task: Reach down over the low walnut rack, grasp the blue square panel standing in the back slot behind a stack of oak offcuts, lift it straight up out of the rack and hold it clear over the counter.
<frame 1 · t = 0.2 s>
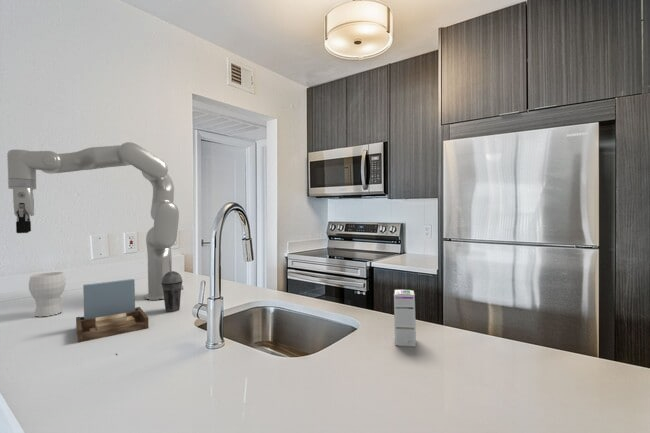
hand: (23, 232, 121), 31 cm above the worktop, fingers open, 9 cm apart
beverage cup: (172, 313, 126), on the worktop
rack: (112, 331, 107), on the worktop
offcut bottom: (113, 330, 105), point 1 cm above the worktop, touching offcut middle, rack
cup: (48, 314, 126), on the worktop
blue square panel: (110, 324, 110), point 1 cm above the worktop, touching rack
offcut top: (111, 321, 104), point 4 cm above the worktop, touching offcut middle
syrup box: (404, 343, 95), on the worktop
offcut middle: (115, 325, 105), point 2 cm above the worktop, touching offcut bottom, offcut top
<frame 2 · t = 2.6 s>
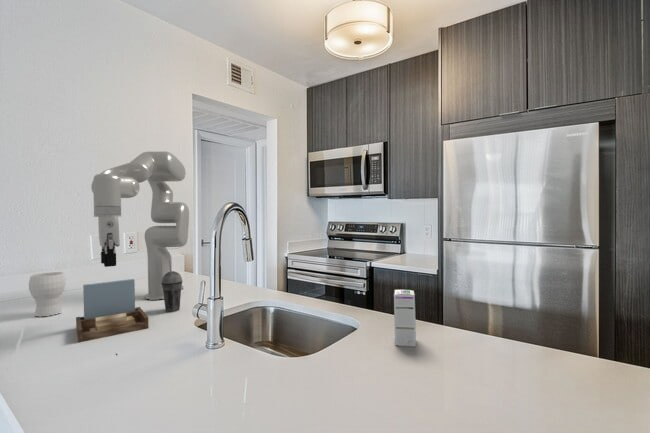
hand: (108, 264, 110), 21 cm above the worktop, fingers open, 9 cm apart
nothing on the worktop moved.
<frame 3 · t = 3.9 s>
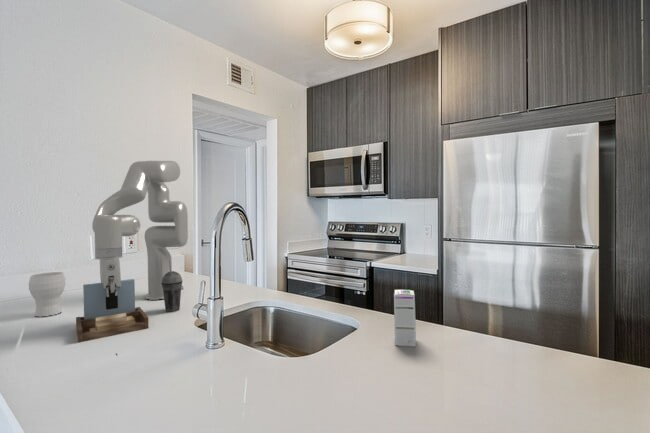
hand: (110, 305, 110), 7 cm above the worktop, fingers open, 9 cm apart
nothing on the worktop moved.
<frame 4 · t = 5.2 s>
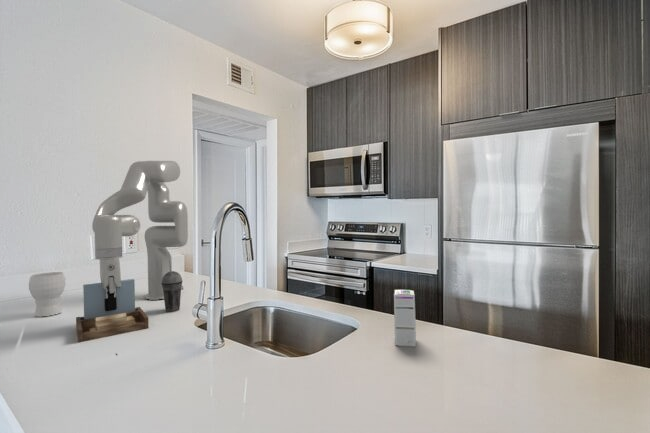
hand: (110, 308, 110), 6 cm above the worktop, fingers closed on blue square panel, 2 cm apart
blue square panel: (110, 324, 110), point 1 cm above the worktop, touching gripper, rack
everything else where it was.
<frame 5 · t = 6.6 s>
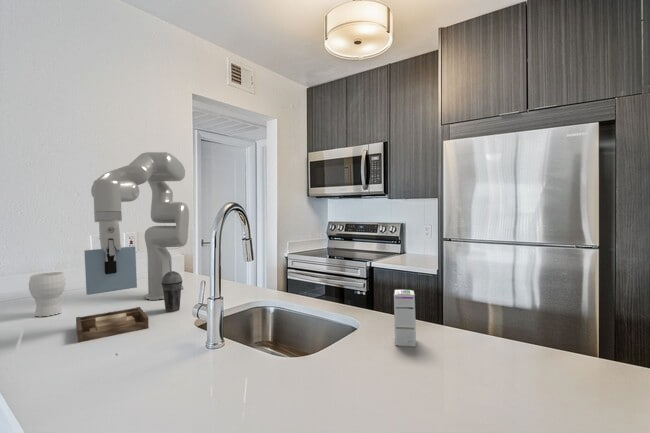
hand: (110, 272, 111), 18 cm above the worktop, fingers closed on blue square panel
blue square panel: (112, 290, 111), point 12 cm above the worktop, touching gripper
everything else where it was.
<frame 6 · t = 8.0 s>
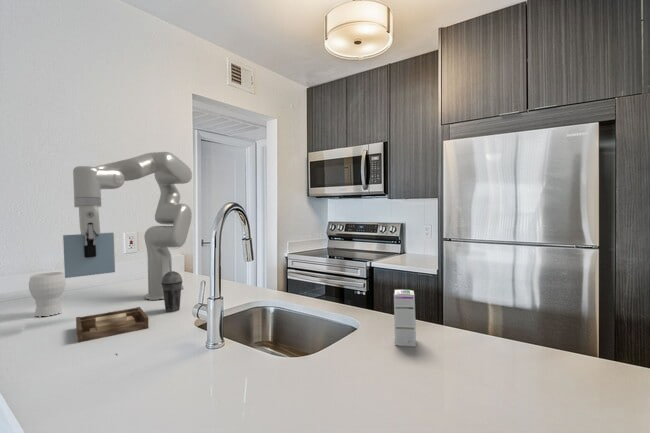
hand: (89, 256, 115), 23 cm above the worktop, fingers closed on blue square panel
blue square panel: (90, 274, 115), point 17 cm above the worktop, touching gripper
everything else where it was.
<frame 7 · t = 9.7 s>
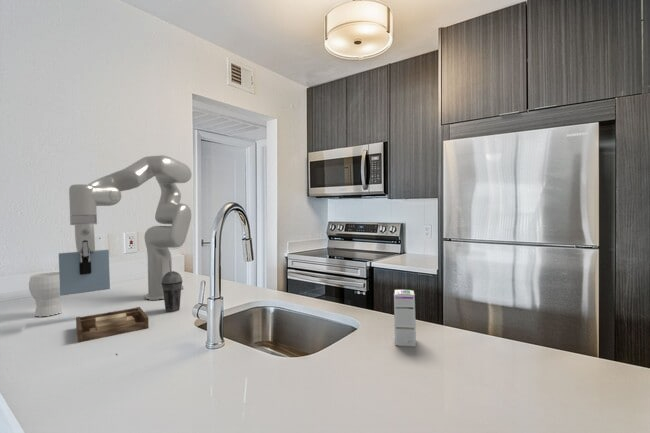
hand: (85, 273, 116), 17 cm above the worktop, fingers closed on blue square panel
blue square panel: (85, 291, 117), point 10 cm above the worktop, touching gripper
everything else where it was.
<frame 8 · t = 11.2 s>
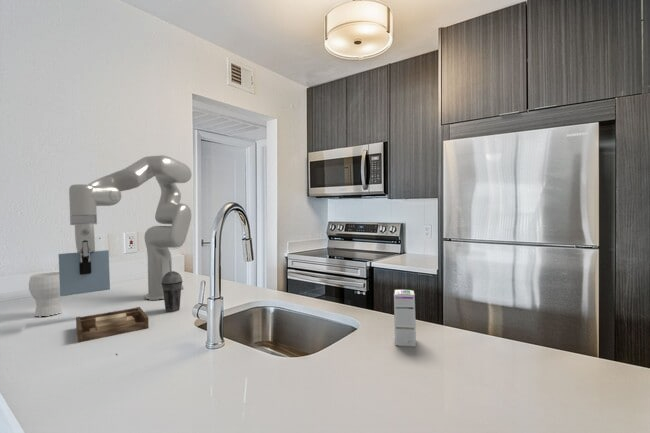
hand: (85, 273, 116), 17 cm above the worktop, fingers closed on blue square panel
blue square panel: (85, 292, 117), point 10 cm above the worktop, touching gripper
everything else where it was.
at the end: the gripper is holding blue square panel; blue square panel point 10.2 cm above the worktop; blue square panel inside the target area (2.4 cm from its centre), point 10.2 cm above the worktop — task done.
